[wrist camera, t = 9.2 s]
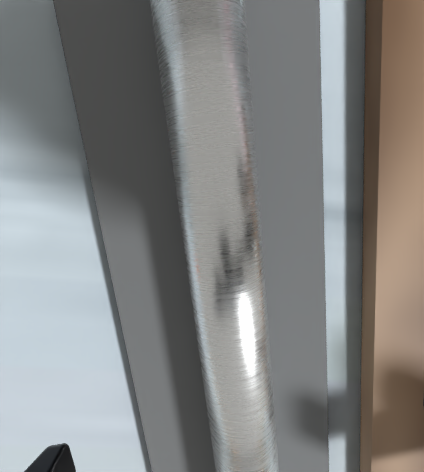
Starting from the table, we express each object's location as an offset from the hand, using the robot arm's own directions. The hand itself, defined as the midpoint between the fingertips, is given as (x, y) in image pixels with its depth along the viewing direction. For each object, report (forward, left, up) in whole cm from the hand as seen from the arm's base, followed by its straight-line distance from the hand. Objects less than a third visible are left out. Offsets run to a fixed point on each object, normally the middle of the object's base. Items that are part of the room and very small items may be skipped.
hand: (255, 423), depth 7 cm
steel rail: (0, 0, -6) cm, 6 cm away
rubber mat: (0, 0, -6) cm, 6 cm away
